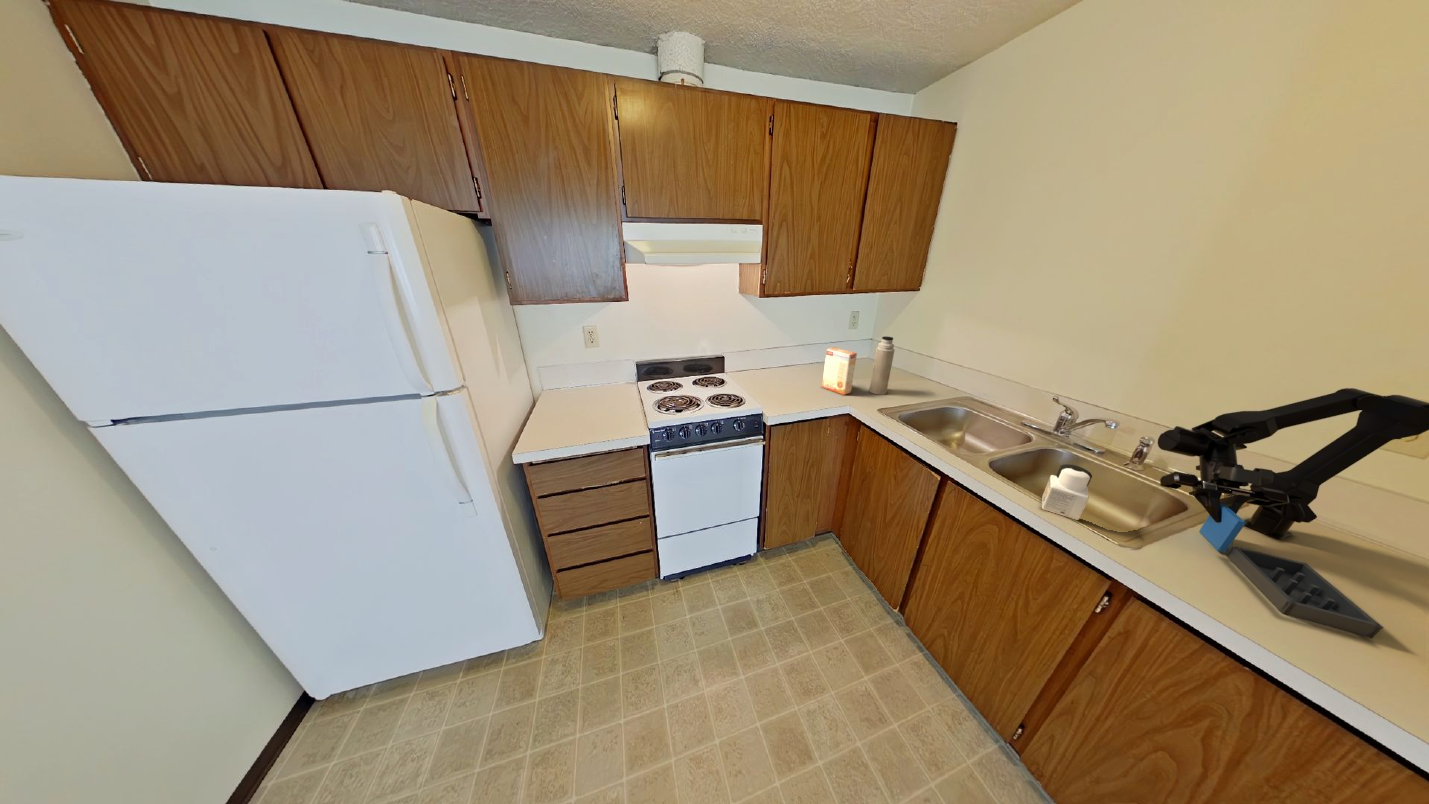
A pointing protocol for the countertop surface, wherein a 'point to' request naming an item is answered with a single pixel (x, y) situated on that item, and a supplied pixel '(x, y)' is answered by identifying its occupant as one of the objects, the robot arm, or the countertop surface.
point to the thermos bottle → (882, 366)
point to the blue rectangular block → (1222, 529)
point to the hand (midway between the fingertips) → (1223, 523)
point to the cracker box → (839, 370)
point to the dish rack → (1302, 592)
